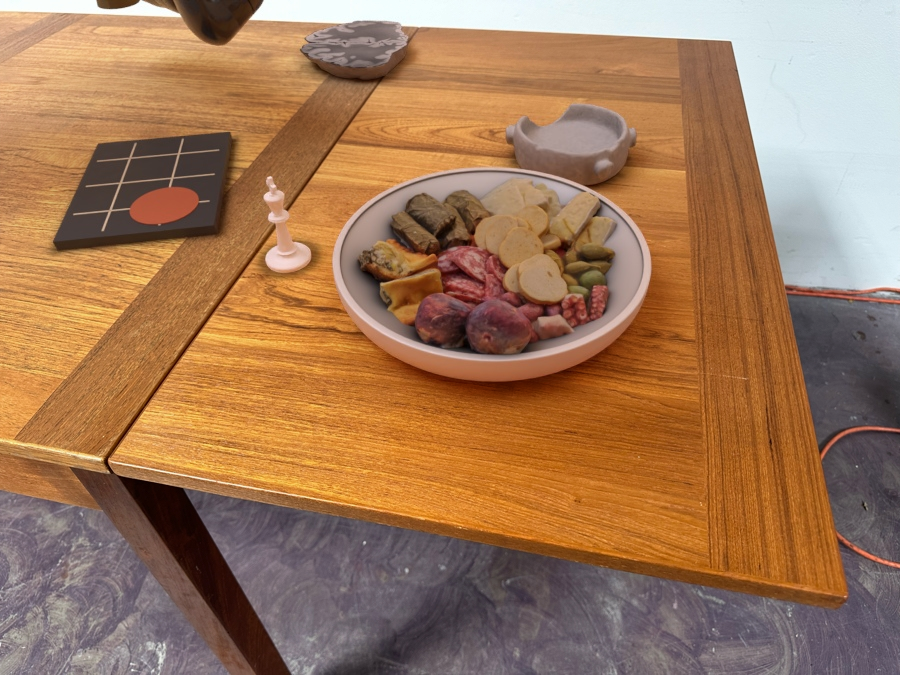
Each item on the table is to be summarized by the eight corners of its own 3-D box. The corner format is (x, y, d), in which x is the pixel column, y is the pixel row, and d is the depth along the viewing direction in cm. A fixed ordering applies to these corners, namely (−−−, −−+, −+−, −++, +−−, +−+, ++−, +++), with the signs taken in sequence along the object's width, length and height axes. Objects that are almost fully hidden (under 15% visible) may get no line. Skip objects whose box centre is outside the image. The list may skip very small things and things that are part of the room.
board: (58, 252, 72) (51, 240, 71) (102, 153, 88) (97, 142, 87) (217, 236, 74) (213, 224, 73) (233, 141, 89) (230, 130, 88)
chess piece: (276, 281, 68) (254, 197, 61) (258, 257, 71) (235, 174, 64) (320, 264, 70) (304, 181, 63) (301, 241, 73) (283, 159, 66)
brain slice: (316, 38, 116) (313, 20, 113) (413, 38, 115) (412, 20, 113) (292, 86, 102) (289, 67, 99) (403, 86, 101) (401, 67, 99)
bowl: (349, 209, 77) (341, 147, 72) (606, 199, 78) (616, 137, 72) (325, 408, 56) (310, 342, 50) (680, 393, 56) (703, 326, 51)
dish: (491, 163, 84) (493, 126, 80) (560, 125, 91) (563, 90, 87) (585, 207, 77) (590, 168, 73) (651, 162, 83) (659, 125, 80)
